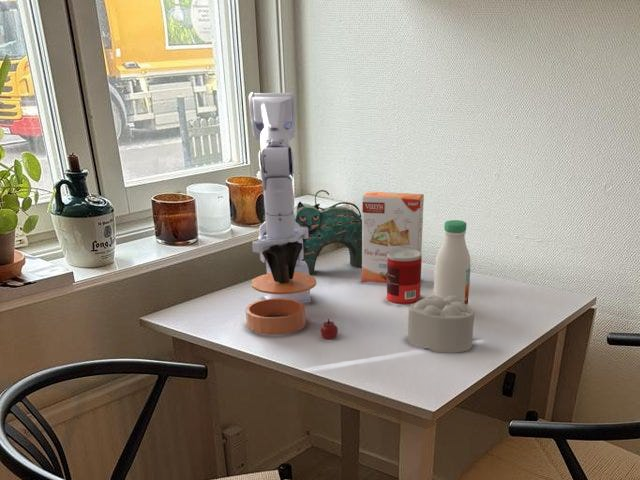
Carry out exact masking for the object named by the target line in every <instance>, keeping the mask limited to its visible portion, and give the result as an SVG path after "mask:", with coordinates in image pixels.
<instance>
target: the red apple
mask: <svg viewBox="0 0 640 480" xmlns="http://www.w3.org/2000/svg"><path fill="white" fill-rule="evenodd" d="M338 334H339V329H338V327H337V325H336V324H335V322H334V321H331V320H330V318H327V321H324V322H323V324H322V325H321V327H320V336H321V337H322V338H323V339H325V340H334V339H336V337H338Z"/></svg>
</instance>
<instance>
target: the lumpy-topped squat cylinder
mask: <svg viewBox="0 0 640 480" xmlns="http://www.w3.org/2000/svg"><path fill="white" fill-rule="evenodd" d="M407 318H408V319H407V321H408V322H407V340H408V341H409V342H411V343H413V344H416V345H419V346H422V347H424V348H423V350H427V351H430V352H435V353H447V354H448V353H450V354H453V353H457V354H458V353H463V352H468V351H470V350H471V349H472V346H473V344H472V343H473V333H474V322H475V321H474V320H475V311H474V310H473V308H472V307H471V306H469V304H468V305H466V304H465V303H462V302H461V300H460V299H459V298H458V297H457V296H448V297H447V298H446V299H444V298H440V297H438V296H435V295H432V294H431V295H428V296H427V297H425V298H422V299H419V300H418V301H417V302H414V303H411V304H409V306H408V317H407Z"/></svg>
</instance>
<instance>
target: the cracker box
mask: <svg viewBox="0 0 640 480" xmlns="http://www.w3.org/2000/svg"><path fill="white" fill-rule="evenodd" d="M424 201H425V194H424V193H408V192H406V193H405V192H387V191H371V190H370V191H368V190H367V191H366V192H365V193H364V194H363V195H362V205H361V206H362V208H361V209H362V211H361V219H362V266H361V283H370V282H372V283H386V284H387V256H388V253H389V252H390V251H393V250H397V249H412V250H417V251H419V252H421V253H422V246H423V228H424V227H423V225H424V203H425V202H424Z"/></svg>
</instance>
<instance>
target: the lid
mask: <svg viewBox="0 0 640 480" xmlns="http://www.w3.org/2000/svg"><path fill="white" fill-rule="evenodd" d="M317 284H318V283H317V279H316V277H314V276H313V275H312V274H309V275H308V274H304V273H299V272H294V276H293V279H290V276H289V264H288V263H284V281H283V283H279V282H275V281H274V278H273V275H272V273H269V274H267V273H265V274H260V275H258V276H256V277H255V278H253V279H252V281H251V287H252V289H254V290H255V291H257V292H259V293H264V294H267V295H269V294H294V293H300V292H304V291H307V290H310V291H311V290H312V289H314V288H315V287H316V286H317Z"/></svg>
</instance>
